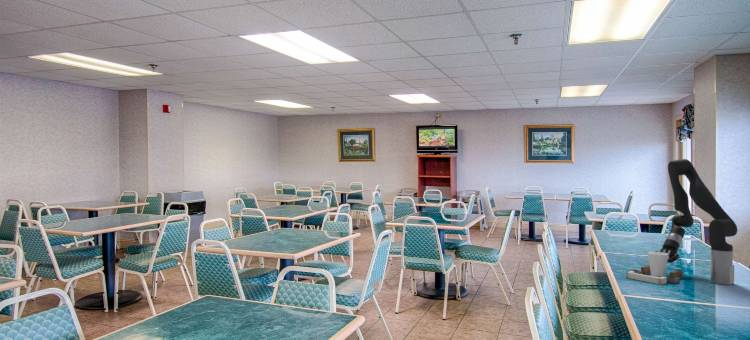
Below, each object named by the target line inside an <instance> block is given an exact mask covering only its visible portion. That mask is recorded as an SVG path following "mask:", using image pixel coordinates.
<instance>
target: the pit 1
mask: <svg viewBox="0 0 750 340" xmlns="http://www.w3.org/2000/svg"><path fill="white" fill-rule="evenodd" d="M629 271H635V273H637V274H642V275H643V271H641V269H640V270H638V269H634V268H632V269H628V270H627V272H629Z"/></svg>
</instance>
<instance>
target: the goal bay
mask: <svg viewBox="0 0 750 340" xmlns="http://www.w3.org/2000/svg"><path fill="white" fill-rule="evenodd" d="M625 277H626V279H627V278H628V279H631V280H636V281H642V282H645V283H646V282H647V283H651V284H655V285H664V284H668V283H667V277H666V276H665V277H661V278H658V277H652V276H651V275H648V274H646V275H642V274H637V273H635V271H629V272H628V271H626V273H625Z"/></svg>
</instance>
